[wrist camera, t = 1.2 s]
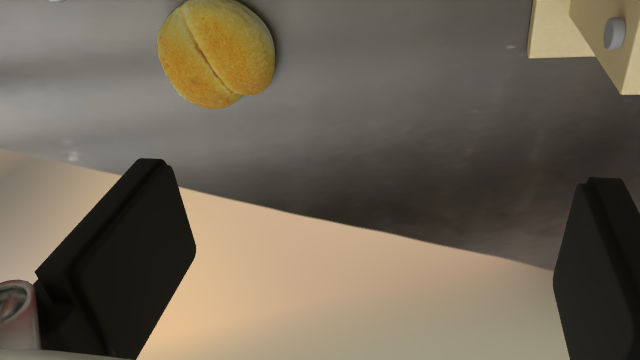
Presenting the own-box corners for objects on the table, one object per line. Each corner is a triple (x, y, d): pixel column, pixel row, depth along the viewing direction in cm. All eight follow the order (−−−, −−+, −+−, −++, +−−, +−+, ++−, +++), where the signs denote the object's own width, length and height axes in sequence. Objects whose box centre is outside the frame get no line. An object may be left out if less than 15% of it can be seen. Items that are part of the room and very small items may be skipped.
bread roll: (296, 72, 39) (283, 95, 35) (206, 109, 42) (187, 132, 39) (242, -30, 35) (222, -15, 32) (148, 19, 38) (122, 37, 35)
